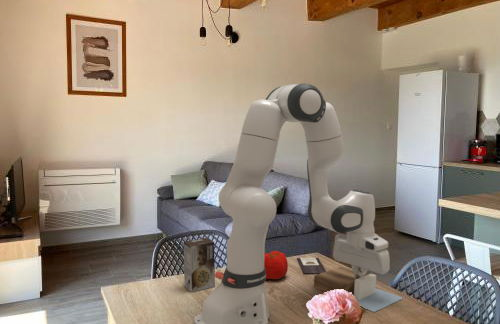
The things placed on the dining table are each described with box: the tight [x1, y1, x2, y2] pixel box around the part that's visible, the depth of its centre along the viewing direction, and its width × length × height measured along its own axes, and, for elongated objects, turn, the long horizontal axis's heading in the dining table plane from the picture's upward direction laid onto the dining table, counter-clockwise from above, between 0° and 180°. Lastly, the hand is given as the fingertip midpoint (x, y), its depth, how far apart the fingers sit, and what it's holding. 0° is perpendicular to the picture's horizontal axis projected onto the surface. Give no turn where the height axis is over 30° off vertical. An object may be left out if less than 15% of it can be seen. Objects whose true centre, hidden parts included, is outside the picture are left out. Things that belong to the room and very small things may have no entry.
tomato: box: [264, 250, 289, 280], centre depth 155 cm, size 11×12×9 cm
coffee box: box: [183, 237, 216, 293], centre depth 145 cm, size 9×6×16 cm
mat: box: [357, 287, 404, 313], centre depth 136 cm, size 16×12×1 cm
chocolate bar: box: [296, 257, 327, 276], centre depth 167 cm, size 9×1×18 cm
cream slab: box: [353, 273, 377, 300], centre depth 138 cm, size 9×6×2 cm
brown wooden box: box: [313, 266, 366, 294], centre depth 146 cm, size 14×12×4 cm
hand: (359, 279), depth 140 cm, fingers closed
